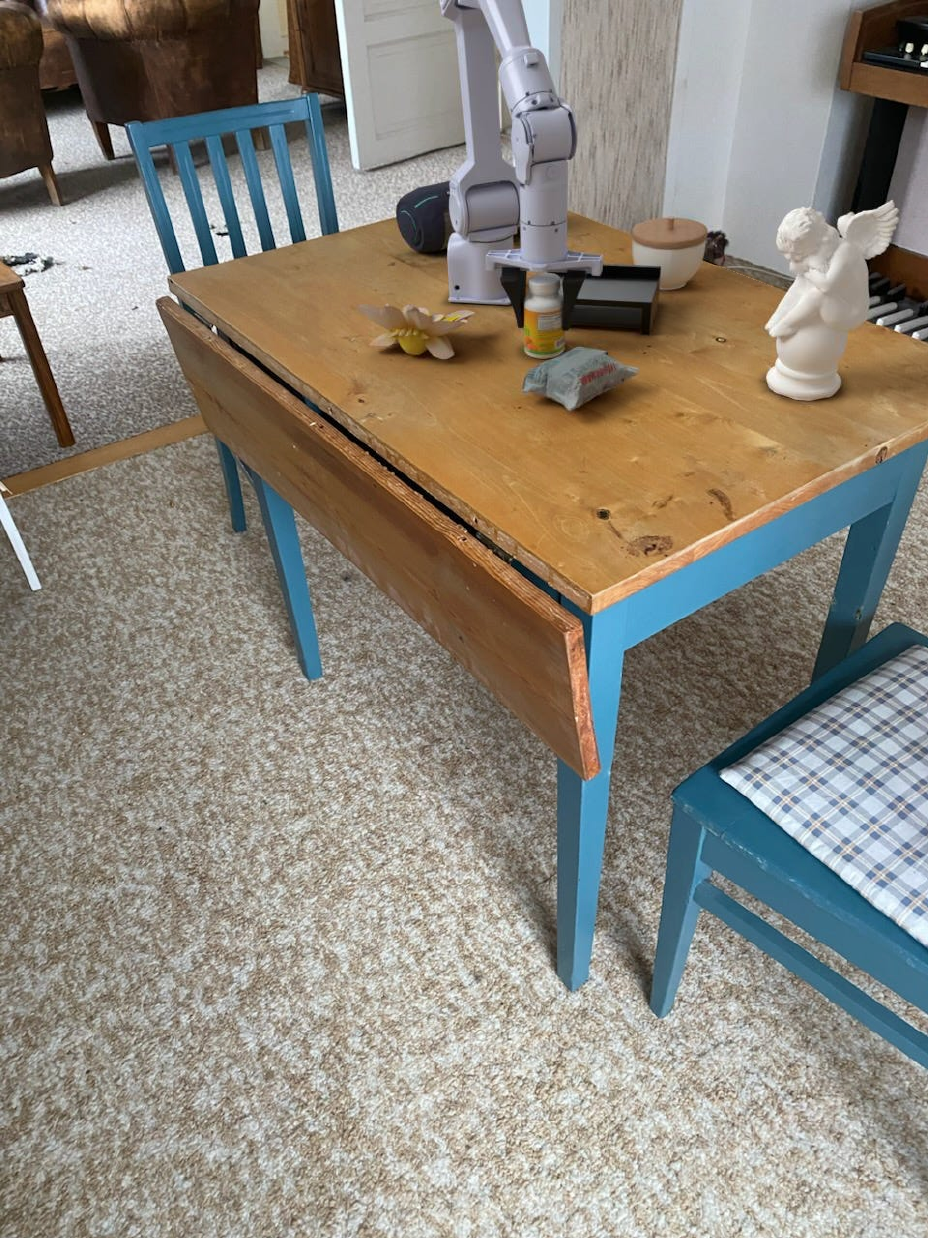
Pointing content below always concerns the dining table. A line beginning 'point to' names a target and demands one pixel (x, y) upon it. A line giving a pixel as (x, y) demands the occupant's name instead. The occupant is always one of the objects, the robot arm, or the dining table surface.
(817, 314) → the cherub figurine
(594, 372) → the packaged food
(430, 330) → the decorative flower
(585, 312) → the black lipped tray
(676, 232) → the trinket box
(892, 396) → the dining table surface
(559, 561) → the dining table surface
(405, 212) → the portable speaker
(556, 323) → the supplement bottle
